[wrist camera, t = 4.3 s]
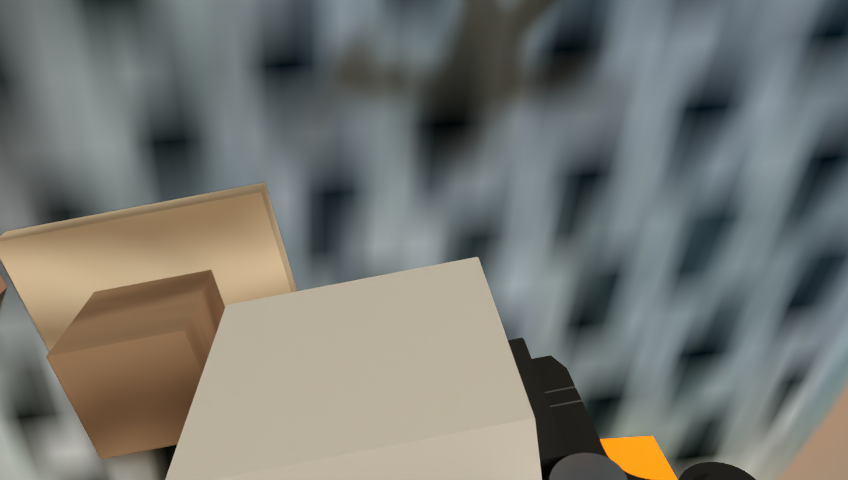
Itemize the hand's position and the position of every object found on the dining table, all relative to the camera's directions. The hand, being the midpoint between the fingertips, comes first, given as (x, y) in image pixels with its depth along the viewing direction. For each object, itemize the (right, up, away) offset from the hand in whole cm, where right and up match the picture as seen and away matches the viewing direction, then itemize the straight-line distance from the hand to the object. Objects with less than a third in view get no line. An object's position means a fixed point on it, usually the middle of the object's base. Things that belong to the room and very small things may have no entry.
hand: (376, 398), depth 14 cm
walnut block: (-11, -1, +16) cm, 20 cm away
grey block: (0, 0, +1) cm, 1 cm away
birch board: (-11, 0, +17) cm, 21 cm away
